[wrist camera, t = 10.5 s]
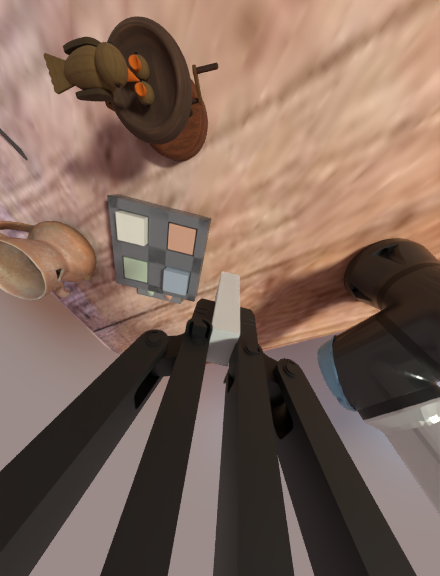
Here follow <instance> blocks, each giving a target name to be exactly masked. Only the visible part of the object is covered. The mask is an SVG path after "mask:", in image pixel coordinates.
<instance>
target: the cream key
mask: <svg viewBox="0 0 440 576" xmlns="http://www.w3.org/2000/svg"><path fill="white" fill-rule="evenodd" d="M115 214H116V225H117V237H118V240H121V241H125V242H129V243H133V244H137V245H141V246H145V245H146V244H148V239H149V217H146V216H142V215H138V214H134V213H130V212H127V211H123V210H121V211H117V212H115Z"/></svg>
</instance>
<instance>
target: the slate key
mask: <svg viewBox="0 0 440 576" xmlns="http://www.w3.org/2000/svg"><path fill="white" fill-rule="evenodd" d="M189 277H190V272H188V271H184V270H180V269H176V268H171V267H166V268H165V270H164V277H163V291H168V292H172V293H176V294H180V295H184V296H185V295H186V293H187V290H188V284H189Z"/></svg>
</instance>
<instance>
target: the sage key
mask: <svg viewBox="0 0 440 576" xmlns="http://www.w3.org/2000/svg"><path fill="white" fill-rule="evenodd" d="M123 258H124V272H125V278H129V279H134V280H138V281H142V282H146V283H147V282H148V262H147V261H143V260H139V259H135V258H130V257H126V256H124V257H123Z"/></svg>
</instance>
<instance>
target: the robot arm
mask: <svg viewBox="0 0 440 576" xmlns="http://www.w3.org/2000/svg"><path fill="white" fill-rule="evenodd" d="M344 284H345V287H346V289H347V291H348V292H349V293H350V294H351V295H352V296H353V297H354V298H356V299H357V300H359V301H361V302H363V303H365V304H368V305H370V306H373V307H375V308H377V309H380V310H381V311H380V312H378V313H376V314H375V315H373V316H371V317H369V318H367V319H366V320H364V321H362V322H360V323H358V324H357V325H355V326H353V327H351V328H350V329H348V330H346V331H344V332H342V333H341V334H339V335H335V336H333V337H332V339H331V340H329V341H327V342H326V343H324V344H323V345H321V346H320V347H319V349H318V353H317V355H318V358H317V359H318V364H319V367H320V370H321V373H322V375H323V377H324V380H325V382H326V384H327V386H328V387H329V389H330V391H331V392H332V394H333V395H334V396H335V397H336V398H337V400H338V402H339V403H340V404H341V405H342V406H343V407H344V408H346V409H347V410H350V411H358V412H359V414H360V416H361V417H362V419H363V420H364V422H365V423H367V424H369V425H371V426H373V427H375V428H377V429H379V430H380V431H382V432H383V433H384V434H385V435H386V437H387V438H388V440H389V441H390V443H391V444H392V446H393V447H394V449H395V450H396V452H397V453H398V454H399V456H400V457H401V459H402V460H403V462H404V463H405V465H406V466H407V467H408V469H409V471H410V472H411V474H412V475H413V476H414V478H415V479H416V481H417V482H418V484H419V485H420V486H421V488H422V490H423V491H424V493H425V494H426V496H427V497H428V498H429V500H430V501H431V503H432V504H433V506H434V507H435V509H436V510H437V512H438V513H439V515H440V387H439V386H438V385H437V382H439V381H440V262H439V261H438V260H437V259H436V258H435V257H434V256H433V255H432V254H431V253H430V252H429V251H428V250H427V249H426V248H425V247H424V246H422V245H421V244H419V243H416V242H413V241H410V240H407V239H400V238H395V239H388V240H384V241H380V242H378V243H375V244H373V245H371V246H369V247H368V248H366V249H364V250H363V251H362V252H360V253H359V254H358V255H357V256H356V257H355V258H354V259H353V260H352V261H351V263H350V264H349V266H348V268H347V270H346V272H345V276H344ZM206 362H210V363H215V364H219V365H224V366H228V363H229V369H228V372H227V374H226V377H225V379H224V383H226V391H225V406H224V421H223V435H222V450H221V465H220V481H219V495H218V510H217V526H216V541H215V555H214V556H215V557H214V570H213V576H294V570H293V564H292V556H291V549H290V542H289V534H288V527H287V521H286V513H285V506H284V500H283V492H282V485H281V477H280V470H279V463H278V458H279V461H280V464H281V468H282V471H283V474H284V477H285V481H286V484H287V487H288V490H289V494H290V497H291V500H292V504H293V507H294V510H295V513H296V517H297V520H298V523H299V526H300V530H301V533H302V536H303V540H304V543H305V546H306V549H307V552H308V556H309V559H310V562H311V566H312V569H313V572H314V576H416V574H415V572H414V570H413V568H412V567H411V565H410V563H409V561H408V559H407V557H406V556H405V554H404V552H403V550H402V549H401V547H400V545H399V543H398V541H397V540H396V538H395V536H394V534H393V533H392V531H391V529H390V527H389V525H388V523H387V522H386V520H385V518H384V516H383V514H382V513H381V511H380V509H379V507H378V505H377V504H376V502H375V500H374V498H373V496H372V495H371V493H370V491H369V489H368V487H367V486H366V484H365V482H364V480H363V479H362V477H361V475H360V473H359V471H358V470H357V468H356V466H355V464H354V462H353V461H352V459H351V457H350V455H349V454H348V452H347V450H346V448H345V446H344V444H343V443H342V441H341V439H340V437H339V435H338V434H337V432H336V430H335V428H334V427H333V425H332V423H331V421H330V419H329V418H328V416H327V414H326V412H325V410H324V409H323V407H322V405H321V404H320V401H319V400H318V398H317V396H316V394H315V392H314V391H313V389H312V387H311V385H310V383H309V382H308V380H307V378H306V376H305V374H304V373H303V371H302V369H301V368H300V367H299V365H297V364H296V363H295V362H294V361H292V360H290V359H285V358H284V359H280V360H279V361H278V362H277V361H276V360H274V359H272V358H270V357H268V356H267V355H265V354H264V353H263V351H262V348H261V347H260V346H259V344H258V341H257V332H256V324H255V316H254V314H253V312H252V310H250V309H246V308H242V307H240V275H235V274H231V273H227V272H223V271H222V273H221V277H220V281H219V285H218V289H217V293H216V297H215V301H211V300H206V299H200V300H199V301H198V302H197V305H196V308H195V310H194V313H193V316H192V318H191V319H190V320H188V322H187V324H186V330H185V333H183V334H181V335H178V336H167V334H166V333H165V332H163V331H161V330H149V331H146V332H145V333H143V334H142V335H141V336H140V337H139V338H138V339H137V340H136V341H135V342H134V343H133V344H132V345H131V346H130V347H129V348H128V349H126V350H125V351H124V352H123V353H122V354H121V355H120V356H119V357H118V358H117V359H116V360H115V361H114V362H113V363H112V364H111V365H110V366H109V367H108V368H107V369H106V370H105V371H104V372H103V373H102V374H101V375H100V376H99V377H97V379H95V380H94V381H93V382H92V383H91V384H90V385H89V386H88V387H87V388H86V389H85V390H84V391H83V392H82V393H81V394H80V395H79V396H78V397H77V398H76V399H75V400H74V401H73V402H72V403H71V404H70V405H69V406H67V408H66V409H64V410H63V411H62V412H61V413H60V414H59V415H58V416H57V417H56V418H55V419H54V420H53V421H52V422H51V423H50V424H49V425H48V426H47V427H46V428H45V429H44V430H43V431H42V432H41V433H40V434H39V435H37V436H36V437H35V438H34V439H33V440H32V441H31V442H30V443H29V444H28V445H27V446H26V447H25V448H24V449H23V450H22V451H21V452H20V453H19V454H18V455H17V456H16V457H15V458H14V459H13V460H12V461H11V462H10V463H9V464H8V465H6V466H5V467H4V468H3V469H2V470H1V472H0V576H29V574H30V573H31V571H32V570H33V568H34V567H35V565H36V564H37V562H38V561H39V559H40V558H41V556H42V555H43V553H44V552H45V551H46V549H47V548H48V546H49V545H50V543H51V542H52V540H53V539H54V537H55V536H56V534H57V533H58V531H59V530H60V528H61V527H62V525H63V524H64V522H65V521H66V519H67V518H68V517H69V515H70V514H71V512H72V511H73V509H74V508H75V506H76V505H77V503H78V502H79V500H80V499H81V497H82V496H83V494H84V493H85V491H86V490H87V489H88V487H89V486H90V484H91V482H92V481H93V480H94V478H95V477H96V475H97V474H98V472H99V471H100V469H101V468H102V466H103V465H104V463H105V462H106V460H107V459H108V458H109V456H110V455H111V453H112V451H113V450H114V449H115V447H116V446H117V444H118V443H119V441H120V440H121V438H122V437H123V435H124V434H125V432H126V431H127V429H128V428H129V427H130V425H131V424H132V422H133V421H134V419H135V417H136V416H137V415H138V413H139V412H140V410H141V409H142V407H143V406H144V404H145V403H146V401H147V400H148V398H149V397H150V396H151V394H152V392H153V391H154V390H155V388H156V387H157V385H158V384H159V382H160V381H161V379H162V378H163V376H170V378H169V381H168V384H167V387H166V390H165V392H164V395H163V398H162V401H161V404H160V407H159V410H158V412H157V415H156V418H155V421H154V424H153V427H152V430H151V432H150V436H149V438H148V441H147V444H146V447H145V450H144V452H143V455H142V458H141V461H140V464H139V467H138V470H137V472H136V475H135V478H134V481H133V484H132V487H131V490H130V492H129V495H128V498H127V501H126V504H125V507H124V510H123V512H122V515H121V518H120V521H119V524H118V527H117V529H116V532H115V535H114V538H113V541H112V544H111V546H110V549H109V553H108V555H107V558H106V561H105V564H104V566H103V569H102V572H101V575H100V576H168V570H169V565H170V559H171V553H172V547H173V542H174V537H175V531H176V526H177V520H178V514H179V509H180V503H181V497H182V492H183V487H184V481H185V476H186V470H187V464H188V459H189V453H190V448H191V442H192V437H193V430H194V425H195V420H196V414H197V408H198V403H199V398H200V392H201V386H202V381H203V375H204V370H205V364H206ZM277 455H278V456H277Z"/></svg>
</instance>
